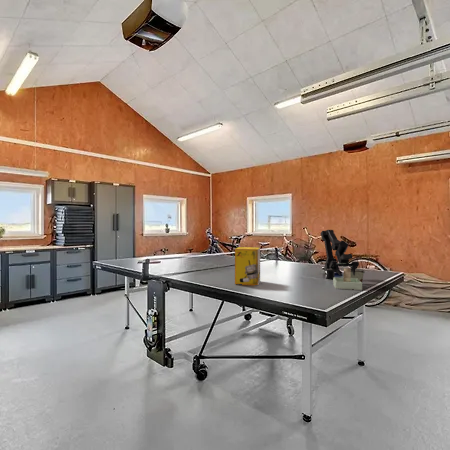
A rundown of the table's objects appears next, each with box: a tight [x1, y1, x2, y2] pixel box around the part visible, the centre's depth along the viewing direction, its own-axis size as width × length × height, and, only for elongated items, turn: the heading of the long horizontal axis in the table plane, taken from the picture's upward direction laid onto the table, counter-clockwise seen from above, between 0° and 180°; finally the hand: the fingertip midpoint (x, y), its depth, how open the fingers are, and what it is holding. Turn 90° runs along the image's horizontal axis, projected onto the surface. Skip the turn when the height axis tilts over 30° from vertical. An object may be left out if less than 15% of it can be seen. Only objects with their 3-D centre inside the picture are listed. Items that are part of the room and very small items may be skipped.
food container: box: [351, 268, 365, 284], centre depth 213 cm, size 12×6×10 cm, turn 74°
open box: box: [332, 277, 363, 291], centre depth 201 cm, size 16×16×4 cm
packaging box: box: [234, 246, 261, 286], centre depth 214 cm, size 16×16×25 cm
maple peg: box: [343, 268, 351, 282], centre depth 201 cm, size 4×4×12 cm
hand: (347, 275), depth 200 cm, fingers open, 9 cm apart
